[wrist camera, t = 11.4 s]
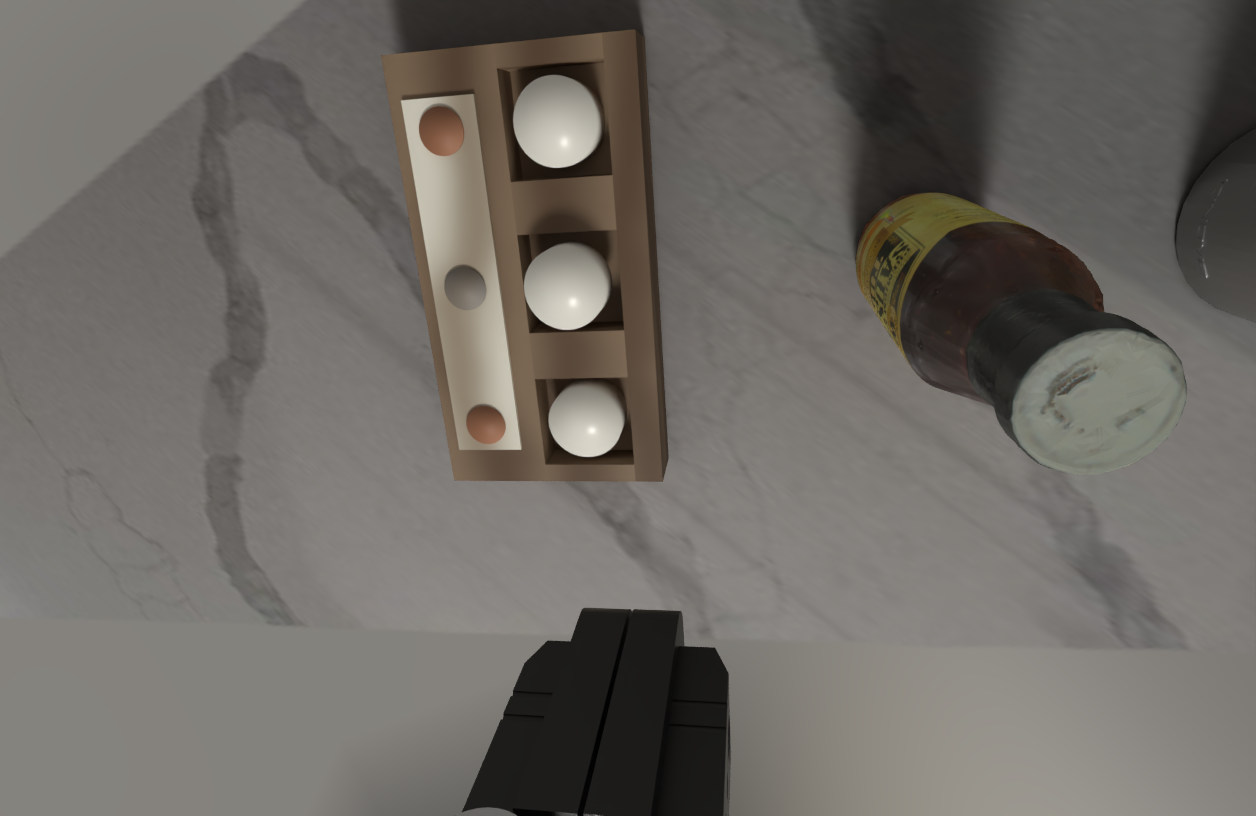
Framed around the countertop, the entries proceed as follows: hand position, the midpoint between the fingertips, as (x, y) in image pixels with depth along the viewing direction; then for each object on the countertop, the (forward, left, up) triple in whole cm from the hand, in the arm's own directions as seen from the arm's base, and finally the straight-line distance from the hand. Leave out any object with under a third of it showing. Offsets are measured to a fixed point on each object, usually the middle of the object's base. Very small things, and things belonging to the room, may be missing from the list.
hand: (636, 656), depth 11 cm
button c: (+7, -8, -28) cm, 30 cm away
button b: (+7, -1, -26) cm, 27 cm away
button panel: (+9, -1, -29) cm, 30 cm away
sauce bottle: (-10, -1, -29) cm, 31 cm away
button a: (+7, +7, -28) cm, 29 cm away
